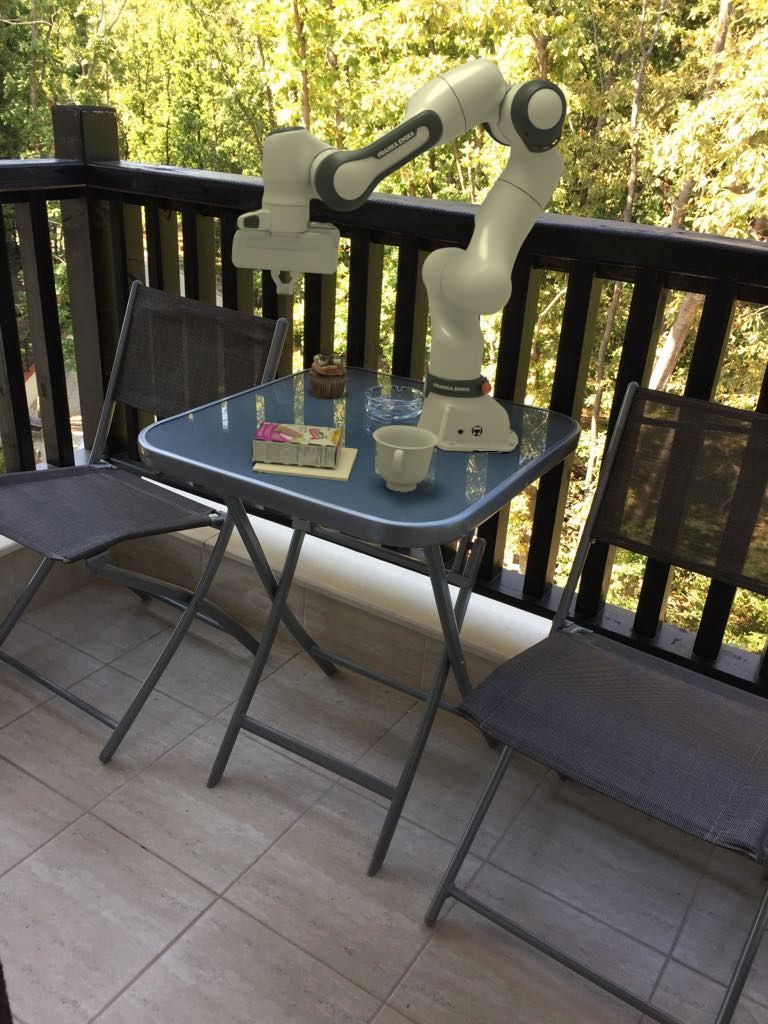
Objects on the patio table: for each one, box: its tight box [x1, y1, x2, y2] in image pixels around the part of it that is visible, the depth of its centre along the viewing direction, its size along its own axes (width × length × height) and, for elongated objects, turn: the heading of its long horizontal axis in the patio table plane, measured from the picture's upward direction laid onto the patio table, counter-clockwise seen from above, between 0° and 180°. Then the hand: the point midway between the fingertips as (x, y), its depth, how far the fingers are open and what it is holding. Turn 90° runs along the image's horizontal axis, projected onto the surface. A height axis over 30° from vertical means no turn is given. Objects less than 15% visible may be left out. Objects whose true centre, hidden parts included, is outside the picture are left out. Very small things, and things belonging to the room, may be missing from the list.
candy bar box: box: [251, 421, 343, 469], centre depth 168 cm, size 11×5×16 cm
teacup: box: [372, 424, 439, 493], centre depth 158 cm, size 12×15×10 cm
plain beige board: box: [252, 446, 358, 482], centre depth 169 cm, size 18×16×1 cm
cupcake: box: [307, 352, 348, 400], centre depth 208 cm, size 10×10×10 cm
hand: (284, 293), depth 169 cm, fingers closed
